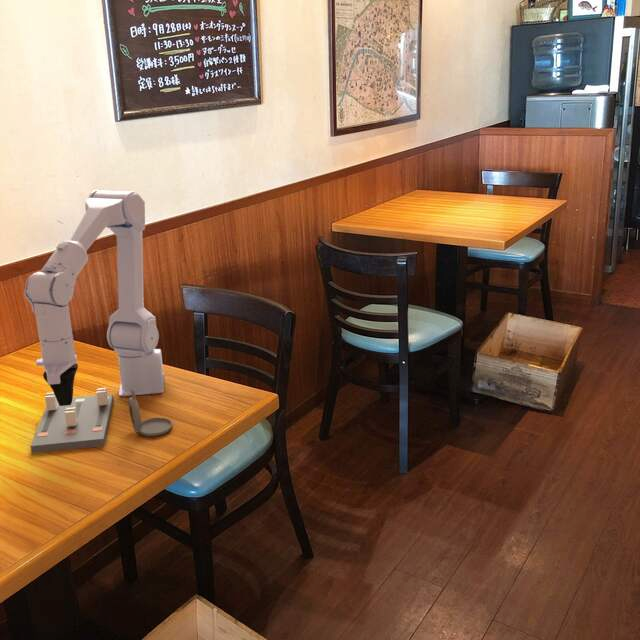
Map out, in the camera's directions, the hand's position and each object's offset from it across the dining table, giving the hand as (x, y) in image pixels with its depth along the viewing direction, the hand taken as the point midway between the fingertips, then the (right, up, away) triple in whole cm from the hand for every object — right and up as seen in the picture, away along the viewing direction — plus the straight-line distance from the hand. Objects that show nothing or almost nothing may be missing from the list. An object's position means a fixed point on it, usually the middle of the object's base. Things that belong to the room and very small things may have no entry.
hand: (65, 404), depth 130 cm
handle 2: (+3, -1, +13) cm, 13 cm away
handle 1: (-7, -2, +11) cm, 13 cm away
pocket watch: (+14, -6, +5) cm, 17 cm away
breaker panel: (-1, -5, +8) cm, 10 cm away
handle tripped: (0, -4, +5) cm, 6 cm away
